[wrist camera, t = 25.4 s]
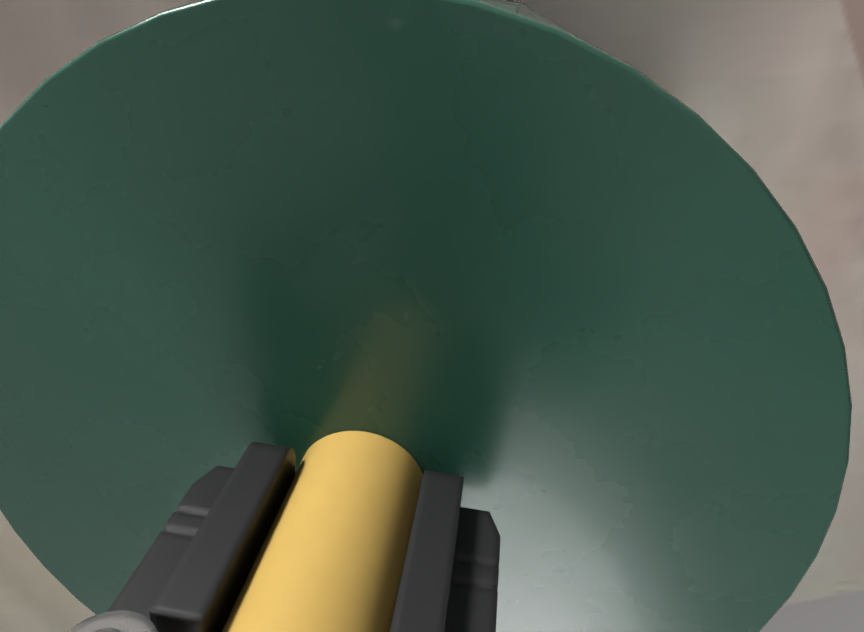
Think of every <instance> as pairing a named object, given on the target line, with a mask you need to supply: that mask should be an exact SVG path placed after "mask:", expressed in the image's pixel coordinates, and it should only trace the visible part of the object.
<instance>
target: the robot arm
mask: <svg viewBox="0 0 864 632" xmlns="http://www.w3.org/2000/svg"><path fill="white" fill-rule="evenodd" d="M295 473H296V458H295V450H294V449H293V448H290V447H284V446H278V445H272V444H266V443H260V442H252V443H250V445H249V446H248V447H247V449H246V450H245V452H244V454H243V455H242V457H241V459H240V460H239V462H238V464H237V465H236V467H235V468H230V467H224V466H218V465H217V466H216V467H215V468H213V469H212V470H210V471H209V472H208V473H206V474H205V475H204V476H202V477H201V478H200V479H198V480H197V481H196V482H194V483H193V484H192V485H191V487H190V488H189V490H188V491H187V493H186V494H185V496H184V497H183V499H182V500H181V502H180V503H179V505H178V506H177V511H176V512H173V514H172V515H171V517H170V518H169V520H168V521H167V523H166V524H165V526H164V530H163V531H161V532H160V533H159V535H158V537H157V538H156V540H155V541H154V543H153V544H152V546H151V547H150V549H149V550H148V552H147V553H146V555H145V556H144V558H143V559H142V561H141V562H140V564H139V565H138V567H137V568H136V570H135V571H134V573H133V574H132V576H131V577H130V579H129V580H128V582H127V583H126V585H125V586H124V588H123V589H122V591H121V592H120V594H119V595H118V597H117V598H116V600H115V601H114V603H113V604H112V605H111V607H110V608H109V609H108V611H107V612H104V613H101V614H97V615H95V616H92V617H90V618H88V619H86V620H84V621H82V622H80V623H78V624H77V625H76V626H74V627H73V628H71V629H70V630H69V631H68V632H221V630H222V628H223V626H224V624H225V621H226V619H227V617H228V615H229V613H230V611H231V609H232V607H233V605H234V602H235V600H236V598H237V596H238V594H239V592H240V590H241V588H242V585H243V583H244V581H245V579H246V577H247V575H248V573H249V571H250V569H251V566H252V564H253V562H254V560H255V558H256V556H257V554H258V552H259V550H260V547H261V545H262V543H263V541H264V539H265V537H266V535H267V533H268V530H269V528H270V526H271V524H272V522H273V520H274V518H275V516H276V514H277V511H278V509H279V507H280V505H281V503H282V501H283V499H284V497H285V494H286V492H287V490H288V488H289V486H290V484H291V482H292V480H293V478H294V475H295ZM463 482H464V476H458V475H452V474H446V473H440V472H434V471H428V470H424V473H423V478H422V483H421V487H420V492H419V497H418V501H417V506H416V511H415V515H414V520H413V525H412V530H411V534H410V539H409V544H408V548H407V553H406V558H405V562H404V567H403V572H402V577H401V581H400V586H399V591H398V595H397V600H396V605H395V609H394V614H393V619H392V624H391V628H390V632H496V618H497V598H498V591H497V590H498V578H499V558H500V534H499V532H498V530H497V527H496V525H495V523H494V520H493V518H492V516H491V514H490V512H489V511H483V510H477V509H471V508H465V507H460V505H461V498H462V490H463Z"/></svg>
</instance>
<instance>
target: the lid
mask: <svg viewBox="0 0 864 632" xmlns="http://www.w3.org/2000/svg"><path fill="white" fill-rule="evenodd" d="M851 409H852V403H851V394H850V386H849V378H848V369H847V361H846V352H845V346H844V343H843V339H842V336H841V333H840V330H839V326H838V323H837V320H836V316H835V313H834V310H833V307H832V303H831V300H830V297H829V293H828V290H827V287H826V285H825V283H824V281H823V279H822V277H821V275H820V273H819V271H818V269H817V267H816V265H815V263H814V261H813V259H812V257H811V256H810V254H809V252H808V250H807V248H806V246H805V244H804V242H803V240H802V238H801V236H800V234H799V232H798V230H797V228H796V226H795V225H794V224H793V222H792V221H791V220H790V218H789V217H788V215H787V214H786V213H785V211H784V210H783V209H782V207H781V206H780V205H779V203H778V202H777V201H776V199H775V198H774V196H773V195H772V194H771V192H770V191H769V190H768V188H767V187H766V186H765V184H764V183H763V182H762V180H761V179H760V177H759V176H758V175H757V173H756V172H755V171H754V169H753V168H752V167H751V166H750V165H749V164H748V163H747V162H746V161H745V160H744V159H743V158H742V157H741V156H740V155H739V154H738V153H737V152H735V151H734V150H733V149H732V148H731V147H730V146H729V145H728V144H727V143H726V142H725V141H724V140H723V139H722V138H721V137H720V136H719V135H718V134H717V133H716V132H715V131H714V130H713V129H712V128H711V127H710V126H709V125H708V124H707V123H706V122H705V121H704V120H703V119H702V118H701V117H700V116H699V115H698V114H696V113H695V112H694V111H693V110H691V109H690V108H689V107H687V106H686V105H685V104H683V103H682V102H680V101H679V100H678V99H676V98H675V97H673V96H672V95H671V94H669V93H668V92H666V91H665V90H664V89H662V88H661V87H660V86H658V85H657V84H655V83H654V82H653V81H651V80H650V79H648V78H647V77H646V76H644V75H643V74H642V73H640V72H639V71H637V70H636V69H635V68H633V67H632V66H630V65H629V64H628V63H626V62H624V61H622V60H620V59H618V58H616V57H614V56H612V55H610V54H608V53H606V52H604V51H603V50H601V49H599V48H597V47H595V46H593V45H591V44H589V43H587V42H585V41H583V40H581V39H579V38H577V37H575V36H573V35H572V34H570V33H568V32H566V31H564V30H562V29H560V28H558V27H556V26H553V25H550V24H547V23H544V22H541V21H538V20H535V19H533V18H530V17H527V16H524V15H521V14H518V13H515V12H512V11H509V10H506V9H503V8H501V7H498V6H495V5H492V4H489V3H486V2H483V1H480V0H202V1H198V2H195V3H191V4H187V5H184V6H180V7H177V8H173V9H170V10H166V11H163V12H160V13H158V14H156V15H154V16H152V17H149V18H147V19H145V20H143V21H141V22H139V23H137V24H135V25H133V26H130V27H128V28H126V29H124V30H122V31H120V32H118V33H116V34H114V35H111V36H109V37H107V38H105V39H103V40H101V41H99V42H97V43H96V44H94V45H93V46H92V47H90V48H89V49H87V50H86V51H85V52H83V53H82V54H80V55H79V56H78V57H76V58H75V59H73V60H72V61H71V62H69V63H68V64H66V65H65V66H63V67H62V68H61V69H59V70H58V71H56V72H55V73H54V74H52V75H51V76H49V77H48V78H47V79H45V80H44V81H43V82H42V83H41V85H40V86H39V87H38V88H37V89H36V90H35V91H34V92H33V93H32V94H31V95H30V96H29V97H28V98H27V99H26V100H25V101H24V102H23V103H22V104H21V105H20V106H19V107H18V108H17V109H16V110H15V111H14V112H13V113H12V114H11V115H10V116H9V117H8V118H7V119H6V120H5V121H4V123H3V124H2V126H1V127H0V510H1V512H2V513H3V514H4V516H5V517H6V519H7V520H8V522H9V523H10V525H11V526H12V528H13V529H14V531H15V532H16V533H17V534H18V536H19V537H20V538H21V539H22V540H23V542H24V543H25V544H26V545H27V546H28V548H29V549H30V550H31V551H32V552H33V554H34V555H35V556H36V557H37V558H38V560H39V561H40V562H41V563H42V564H43V566H44V567H45V568H46V569H47V570H48V571H49V572H50V573H51V574H52V575H53V576H54V577H55V578H56V579H57V580H58V581H59V582H60V583H61V584H62V585H64V586H65V587H66V588H67V589H68V590H69V591H70V592H71V593H72V594H73V595H74V596H75V597H76V598H77V599H78V600H79V601H80V602H82V603H83V604H84V605H85V606H86V607H88V608H89V609H90V610H91V611H92V612H94V613H95V614H96V615H97V614H101V613H104V612H107V611H108V609H109V608H110V607H111V605H112V604H113V603H114V601H115V600H116V598H117V597H118V595H119V594H120V592H121V591H122V589H123V588H124V586H125V585H126V583H127V582H128V580H129V579H130V577H131V576H132V574H133V573H134V571H135V570H136V568H137V567H138V565H139V564H140V562H141V561H142V559H143V558H144V556H145V555H146V553H147V552H148V550H149V549H150V547H151V546H152V544H153V543H154V541H155V540H156V538H157V537H158V535H159V533H160V532H161V531H163V530H164V526H165V524H166V523H167V521H168V520H169V518H170V517H171V515H172V514H173V512H176V511H177V506H178V505H179V503H180V502H181V500H182V499H183V497H184V496H185V494H186V493H187V491H188V490H189V488H190V487H191V485H192V484H193V483H194V482H196V481H197V480H198V479H200V478H201V477H202V476H204V475H205V474H206V473H208V472H209V471H210V470H212V469H213V468H215V467H216V466H217V465H218V466H224V467H230V468H235V467H236V465H237V464H238V462H239V460H240V459H241V457H242V455H243V454H244V452H245V450H246V449H247V447H248V446H249V445H250V443H252V442H260V443H266V444H272V445H278V446H284V447H290V448H293V449H294V450H295V458H296V473H295V475H294V478H293V480H292V482H291V484H290V486H289V488H288V490H287V492H286V494H285V497H284V499H283V501H282V503H281V505H280V507H279V509H278V511H277V514H276V516H275V518H274V520H273V522H272V524H271V526H270V528H269V530H268V533H267V535H266V537H265V539H264V541H263V543H262V545H261V547H260V550H259V552H258V554H257V556H256V558H255V560H254V562H253V564H252V566H251V569H250V571H249V573H248V575H247V577H246V579H245V581H244V583H243V585H242V588H241V590H240V592H239V594H238V596H237V598H236V600H235V602H234V605H233V607H232V609H231V611H230V613H229V615H228V617H227V619H226V621H225V624H224V626H223V628H222V630H221V632H390V628H391V624H392V619H393V614H394V609H395V605H396V600H397V595H398V591H399V586H400V581H401V577H402V572H403V567H404V562H405V558H406V553H407V548H408V544H409V539H410V534H411V530H412V525H413V520H414V515H415V511H416V506H417V501H418V497H419V492H420V487H421V483H422V478H423V473H424V470H428V471H434V472H440V473H446V474H452V475H458V476H464V482H463V490H462V498H461V505H460V507H465V508H471V509H477V510H483V511H489V512H490V514H491V516H492V518H493V520H494V523H495V525H496V527H497V530H498V532H499V534H500V558H499V578H498V590H497V591H498V598H497V618H496V632H759V631H760V630H761V629H762V628H763V627H764V626H765V625H766V623H767V622H768V621H769V620H770V619H771V618H772V617H773V615H774V614H775V613H776V612H777V611H778V610H779V609H780V608H781V607H782V605H783V604H784V603H785V602H786V601H787V600H788V599H789V598H790V596H791V595H792V593H793V592H794V590H795V589H796V587H797V586H798V584H799V583H800V581H801V579H802V578H803V576H804V575H805V573H806V572H807V570H808V569H809V567H810V565H811V564H812V562H813V561H814V559H815V558H816V556H817V554H818V552H819V549H820V547H821V545H822V542H823V540H824V538H825V536H826V533H827V531H828V529H829V526H830V524H831V522H832V519H833V517H834V515H835V513H836V510H837V506H838V502H839V497H840V493H841V489H842V485H843V481H844V477H845V473H846V469H847V465H848V459H849V442H850V426H851Z"/></svg>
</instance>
